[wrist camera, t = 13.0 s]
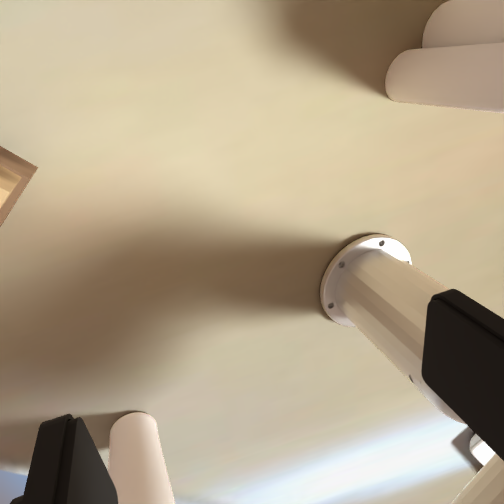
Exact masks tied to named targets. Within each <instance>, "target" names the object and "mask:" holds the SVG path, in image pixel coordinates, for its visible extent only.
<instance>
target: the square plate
mask: <svg viewBox="0 0 504 504" xmlns="http://www.w3.org/2000/svg"><path fill="white" fill-rule="evenodd" d="M470 452H471V454H472V455H473V456H474V457H475V458H476V459H477V460H478V461H479V462H480V463H481V464H482V465H483V466H484V465H485V464H486V463H487V462H488V461H489V460H490V459H491V457H492V456H493V455H494V454H495V452H494V451H493V450H492V449H491V448H490V447H489V446H488V445H487V444H486V443H485V442H484V441H483V440H482V439H481V438H480V437H479V436H478V435H477V434H475V435H474V436H473V437H472V439H471V440H470Z"/></svg>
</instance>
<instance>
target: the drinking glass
mask: <svg viewBox="0 0 504 504" xmlns="http://www.w3.org/2000/svg"><path fill="white" fill-rule="evenodd" d="M107 471H108V473H109V475H110V477H111V479H112V481H113V483H114V485H115V488H116V491H117V496H118V504H175V500H174V496H173V492H172V488H171V484H170V480H169V476H168V472H167V468H166V464H165V460H164V456H163V452H162V448H161V444H160V440H159V435H158V428H157V423H156V421H155V419H154V418H153V417H152V416H151V415H149V414H147V413H143V412H134V413H130V414H127V415H124V416H123V417H121V418H119V419H118V420H117V421H116V422H115V423H114V424H113V426H112V428H111V430H110V448H109V459H108V470H107Z"/></svg>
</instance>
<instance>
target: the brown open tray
mask: <svg viewBox="0 0 504 504" xmlns="http://www.w3.org/2000/svg"><path fill="white" fill-rule="evenodd" d="M21 178H22V177H20V176H19V175H17V174H15V173H14V172H12V171H10V170H8V169H7V168H5V167H3V166H1V165H0V209H1V208H2V206H3V205H4V203H5V202H6V200H7V199H8V197H9V196H10V194H11V193H12V191H13V190H14V188H15V187H16V185H17V184H18V182H19V181H20V179H21Z"/></svg>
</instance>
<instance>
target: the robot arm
mask: <svg viewBox="0 0 504 504" xmlns="http://www.w3.org/2000/svg"><path fill="white" fill-rule="evenodd" d="M320 299H321V304H322V306H323V309H324V311H325V312H326V313H327V315H328V316H329V317H330V318H331V319H332V320H333V321H334V322H336V323H338V324H340V325H343V326H346V327H357V328H358V329H359V330H360V331H361V332H362V333H363V334H364V335H365V336H366V337H367V338H368V339H369V340H370V341H371V342H372V343H373V344H374V345H375V346H376V347H377V348H378V349H379V350H380V351H381V352H382V353H383V354H384V355H385V356H386V357H387V358H388V360H389V361H390V362H391V363H392V364H393V365H394V366H395V367H396V368H397V369H398V370H399V371H400V372H401V373H402V374H403V375H404V376H405V377H406V378H407V379H408V380H409V381H410V382H411V383H412V384H413V385H414V386H415V387H416V388H417V389H418V390H419V391H420V392H421V393H422V394H423V395H424V396H425V397H426V398H427V399H428V400H429V401H430V402H431V403H432V404H433V405H434V406H435V407H436V408H437V409H438V410H439V411H440V412H442V413H443V414H445V415H446V416H448V417H449V418H451V419H453V420H455V421H458V422H461V423H464V424H467V425H468V426H469V427H470V428H471V429H472V430H473V431H474V432H475V433H476V434H477V435H478V436H479V437H480V438H481V439H482V440H483V441H484V442H485V443H486V444H487V445H488V446H489V447H490V448H491V449H492V450H493V451H494V452H495V454H494V455H493V456H492V457H491V459H490V460H489V461H488V462H487V463H486V464H485V465H484V466H483V467H482V469H481V470H480V471H479V472H478V473H477V474H476V475H475V476H474V477H473V478H472V480H471V481H470V482H469V483H468V484H467V485H466V486H465V487H464V488H463V490H462V491H461V492H460V493H459V494H458V496H457V497H456V498H455V499H454V500H453V502H452V503H451V504H504V319H503V318H501V317H500V316H498V315H497V314H495V313H493V312H492V311H490V310H489V309H487V308H485V307H484V306H482V305H481V304H479V303H477V302H476V301H474V300H473V299H471V298H469V297H468V296H466V295H465V294H463V293H461V292H460V291H458V290H456V289H449V288H447V287H445V286H444V285H442V284H441V283H439V282H438V281H436V280H434V279H433V278H431V277H430V276H428V275H427V274H425V273H423V272H422V271H420V270H419V269H417V268H416V267H414V266H412V262H411V258H410V254H409V252H408V250H407V248H406V247H405V246H404V245H403V244H402V243H401V242H399V241H398V240H396V239H394V238H392V237H390V236H387V235H382V234H374V235H369V236H364V237H362V238H359V239H357V240H355V241H353V242H352V243H350V244H349V245H347V246H346V247H345V248H343V249H342V250H341V251H340V252H339V253H338V254H337V255H336V256H335V258H334V259H333V260H332V261H331V263H330V264H329V266H328V268H327V269H326V271H325V274H324V276H323V279H322V283H321V287H320ZM10 504H118V496H117V491H116V488H115V485H114V483H113V481H112V479H111V477H110V475H109V473H108V471H107V469H106V467H105V465H104V463H103V461H102V459H101V457H100V454H99V452H98V450H97V448H96V446H95V444H94V442H93V440H92V438H91V436H90V434H89V432H88V430H87V428H86V426H85V424H84V422H83V420H82V418H80V417H79V418H76V419H74V418H73V417H72V415H70V414H67V415H64V416H61V417H58V418H55V419H52V420H48V421H45V422H42V424H41V425H40V428H39V431H38V435H37V440H36V444H35V448H34V452H33V457H32V461H31V465H30V470H29V474H28V478H27V482H26V487H25V491H24V495H22V496H20V497H17V498H15V499H13V500H12V502H11V503H10Z"/></svg>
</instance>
